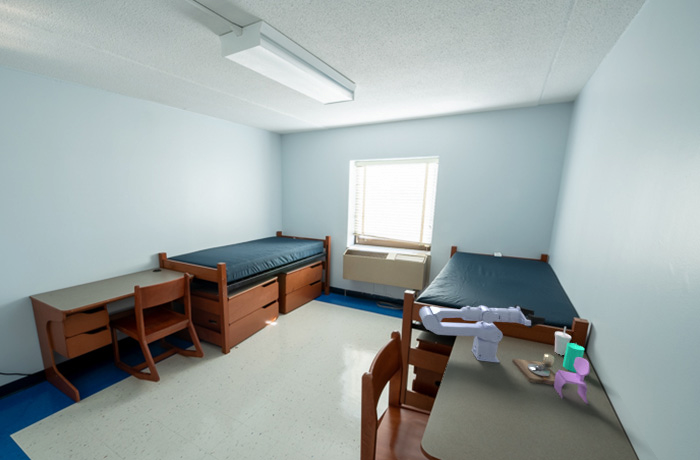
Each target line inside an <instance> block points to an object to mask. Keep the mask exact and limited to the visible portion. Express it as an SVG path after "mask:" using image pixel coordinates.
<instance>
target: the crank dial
mask: <svg viewBox="0 0 700 460" xmlns="http://www.w3.org/2000/svg"><path fill="white" fill-rule="evenodd" d="M555 358H556V357H555V356H554V355H552V354H551V353H544V354H543V359H542V362H543V364H542V365H537V364H528V369H529V370H530V371H531V372H533V373H534V374H536V375H539V376H543V377H548V376H549V375H550V373H549V371H548V370H547V368H549V369H551V368H553V367H554V363H555Z"/></svg>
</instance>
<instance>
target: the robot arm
mask: <svg viewBox="0 0 700 460" xmlns="http://www.w3.org/2000/svg"><path fill="white" fill-rule="evenodd" d="M418 314H419V317H420V319H421V322H422V325H423V326H424V327H425V329H426V330H429V331H430V332H432V333H434V334H436V335H438V336H440V335H441V336H459V337H461V336H462V337H473V342H472V348H471V352H472V353H473V355H474V356H475V358H476V359H477V360H478V361H482V362H491V363H500V360H499V359H498V357H497V355H498V354H497V353H498V347H499V343H500V342H501V341H502V340H503V338H504V337H503V336H504V335H503V332H502V331H501V330H500V329H499V328H498V327H497V326H496V325H495V324H494V322H499V323H501V322H502V323H517V324H521V325H524V326H526V327H527V328H529V329H531V328H533V327H535V326H537V325H541V324H545V321H546V318H545V317H542V316H536V315H535V310H533V309H530V308H529V309H528V308H525V307H522V306H520V305H518V304H515V305H514V306H509V307H508V308H505V307H504V308H502V307H500V308H499V307H488V306H486V305H482V304H481V305H478V306H477V307H475V306H473V307H472V306H470V305H466V306H463V307H461V308H460V309H457V308H446V307H445V308H444V307H438V306H433V305H432V306H426V305H425V306H422V307H421V308H420V309H419V311H418ZM446 318H447V319H451V318H453V319H454V318H461V319H462V320H464V321H471V322H472V321H473V322H475V321H477V322H475V323H466V322H445V321H444V322H442V320H443V319H446Z"/></svg>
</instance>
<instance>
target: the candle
mask: <svg viewBox="0 0 700 460" xmlns="http://www.w3.org/2000/svg"><path fill="white" fill-rule="evenodd" d="M584 353H585V348H584V347H583V346H581V345H579V344H577V342H575V343H574V342H573V343H572V342H569V343H567V347H566V351H565V354H564V357H563V362H562V367H563V368H564V369H566V370H567V371H568V372H571V373H577V371H576V370H575V368H574V362H575V359H576V358H577V357H581V358H584Z"/></svg>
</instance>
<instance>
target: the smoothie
mask: <svg viewBox="0 0 700 460" xmlns="http://www.w3.org/2000/svg"><path fill="white" fill-rule="evenodd" d="M566 330H567V326H564V327H563V331H559V330H558V331H555V332H554V338H555V339H554V353H555V352H556V353H557V354H556V353H555V354H556V355H558V354H560V355H559V356H562V355H564V356H565V351H566V347H567V343H571V342H570V341H571V340H572V336H571V335H569V334H568V333H566Z"/></svg>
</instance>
